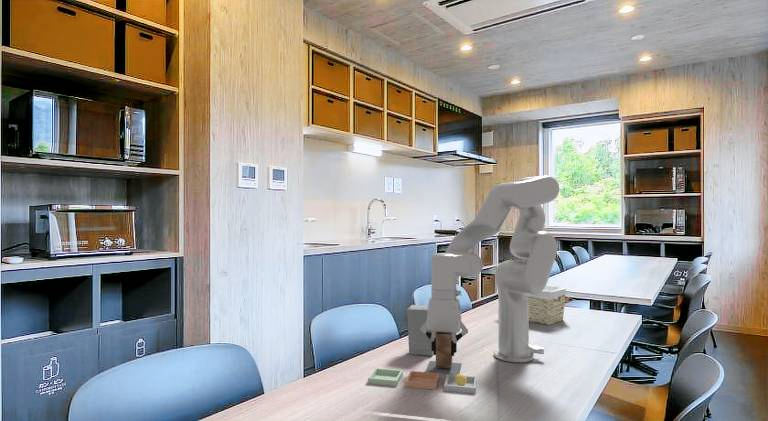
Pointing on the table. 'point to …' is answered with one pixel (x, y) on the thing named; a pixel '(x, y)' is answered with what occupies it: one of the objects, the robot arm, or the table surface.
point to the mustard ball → (460, 380)
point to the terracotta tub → (422, 380)
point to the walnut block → (443, 350)
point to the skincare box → (418, 331)
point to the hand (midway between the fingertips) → (444, 353)
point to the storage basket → (547, 305)
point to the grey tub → (467, 388)
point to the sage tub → (385, 377)
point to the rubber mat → (453, 370)
